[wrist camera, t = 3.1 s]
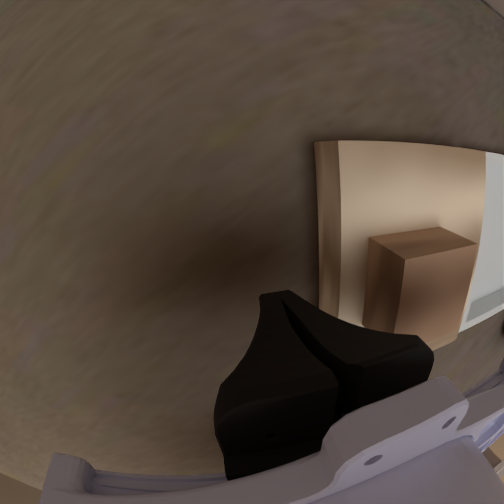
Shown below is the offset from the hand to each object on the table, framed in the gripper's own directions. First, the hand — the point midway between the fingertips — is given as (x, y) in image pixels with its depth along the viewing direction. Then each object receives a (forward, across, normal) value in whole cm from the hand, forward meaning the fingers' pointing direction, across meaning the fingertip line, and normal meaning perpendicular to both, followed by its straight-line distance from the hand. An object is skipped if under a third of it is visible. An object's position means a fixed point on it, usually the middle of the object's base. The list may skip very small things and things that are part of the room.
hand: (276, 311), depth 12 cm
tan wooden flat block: (+4, -9, 0) cm, 10 cm away
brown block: (+1, -7, 0) cm, 7 cm away
